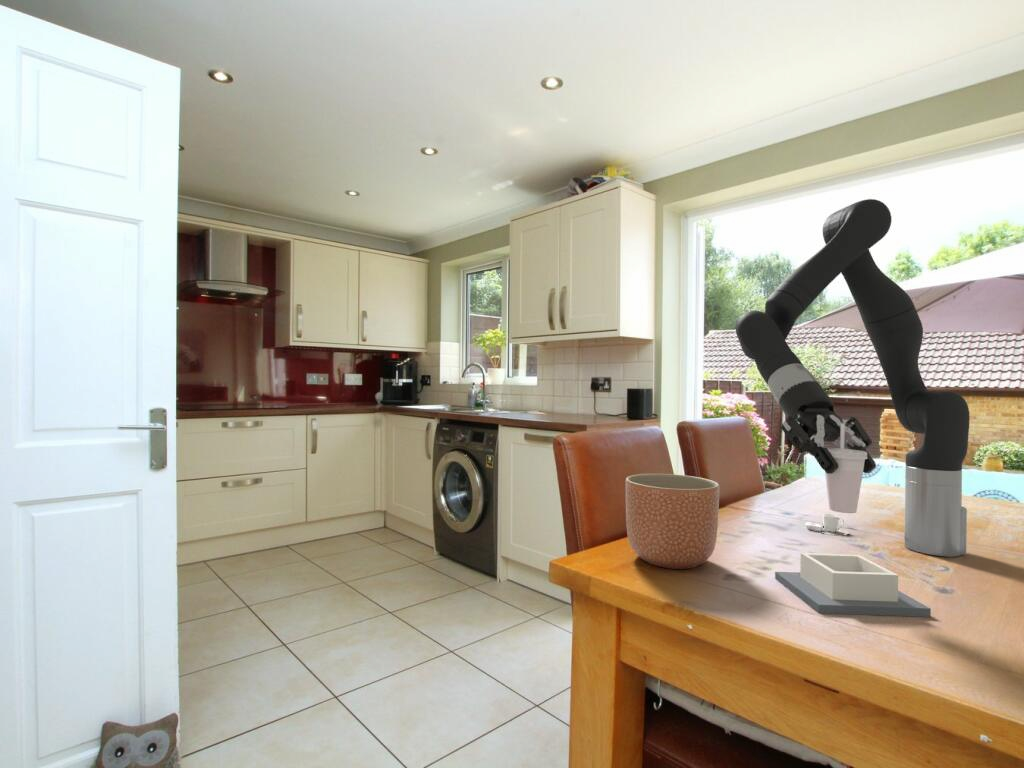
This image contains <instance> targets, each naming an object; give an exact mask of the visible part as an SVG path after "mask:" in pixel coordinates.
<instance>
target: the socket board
mask: <svg viewBox="0 0 1024 768" xmlns="http://www.w3.org/2000/svg"><path fill="white" fill-rule="evenodd" d="M774 579H775V580H776V581H778V583H780V584H781V585H782V586H784V587H785V588H786V589H788V591H790V592H791V593H793V594H794V595H795V596H796V597H798V598H799V599H800V600H801V601H803V602H804V603H806V605H808V607H810V608H812V609H813V610H814V611H816V613H818V614H839V615H840V614H842V615H843V614H844V615H865V616H866V615H868V616H869V615H870V616H896V617H897V616H898V617H900V616H901V617H902V616H903V617H929V618H931V616H932V615H931V614H932V612H931V611H932V609H931V608H930V607H929V606H927V605H925V604H923V603H922V602H920V601H918V600H916V599H914V598H913V597H910V595H908V594H906V593H904V592H902V591H900V590H899V574H896V573H895V572H893V571H891V570H889V569H887V568H885V567H883V566H881V565H879V564H877V563H875V562H874V561H871V560H869V559H868V558H866V557H864V556H862V555H860V554H844V553H842V554H841V553H840V554H838V553H835V554H834V553H811V552H810V553H808V552H807V553H806V552H804V553H803V552H801V553H800V572H797V571H795V572H794V571H775V573H774Z"/></svg>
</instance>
